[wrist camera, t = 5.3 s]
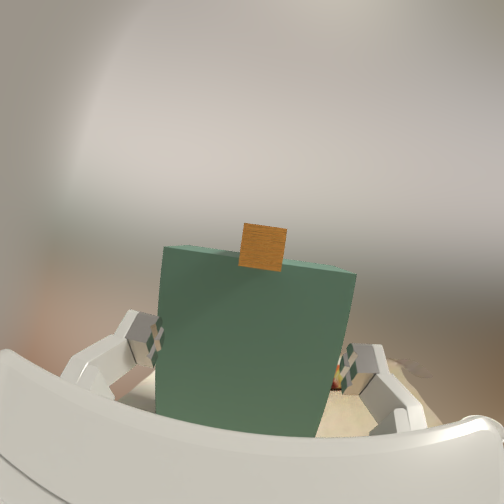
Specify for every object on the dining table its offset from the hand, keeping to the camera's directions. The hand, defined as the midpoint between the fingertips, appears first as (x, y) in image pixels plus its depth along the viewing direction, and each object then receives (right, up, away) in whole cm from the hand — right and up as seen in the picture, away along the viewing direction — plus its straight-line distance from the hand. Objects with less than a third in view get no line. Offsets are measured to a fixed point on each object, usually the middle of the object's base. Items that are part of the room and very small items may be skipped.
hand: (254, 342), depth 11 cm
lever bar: (+1, +3, +19) cm, 19 cm away
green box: (-3, -23, +22) cm, 32 cm away
